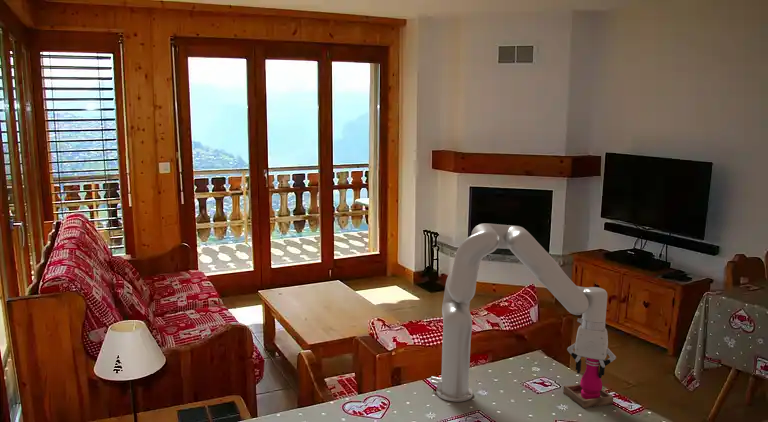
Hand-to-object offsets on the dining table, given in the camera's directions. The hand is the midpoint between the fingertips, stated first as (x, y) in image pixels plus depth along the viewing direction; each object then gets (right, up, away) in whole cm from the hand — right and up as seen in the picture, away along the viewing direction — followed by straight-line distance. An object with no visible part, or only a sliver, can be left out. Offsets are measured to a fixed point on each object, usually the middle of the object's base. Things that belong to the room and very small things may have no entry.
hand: (589, 374), depth 204 cm
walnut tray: (0, -9, +1) cm, 9 cm away
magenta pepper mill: (+1, -8, +1) cm, 9 cm away
